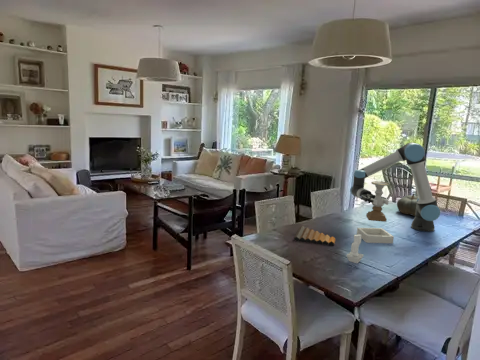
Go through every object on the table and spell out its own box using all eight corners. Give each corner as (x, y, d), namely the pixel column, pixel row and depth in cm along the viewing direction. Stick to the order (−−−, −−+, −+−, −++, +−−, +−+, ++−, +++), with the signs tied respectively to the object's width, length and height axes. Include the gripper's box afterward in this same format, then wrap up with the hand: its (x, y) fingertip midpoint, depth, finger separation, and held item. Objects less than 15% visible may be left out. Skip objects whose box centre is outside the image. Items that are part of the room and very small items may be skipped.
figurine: (344, 262, 190) (347, 235, 188) (351, 257, 197) (353, 231, 195) (358, 265, 186) (360, 238, 183) (364, 260, 193) (366, 234, 190)
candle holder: (386, 221, 222) (390, 184, 217) (368, 220, 224) (372, 183, 219) (383, 217, 232) (387, 181, 228) (366, 215, 234) (369, 180, 230)
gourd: (431, 210, 301) (431, 190, 296) (428, 221, 281) (428, 201, 276) (399, 208, 314) (399, 189, 310) (394, 218, 294) (394, 199, 290)
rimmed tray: (381, 234, 239) (382, 228, 238) (392, 243, 222) (393, 236, 221) (356, 234, 238) (357, 227, 237) (366, 242, 221) (367, 236, 221)
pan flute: (299, 229, 245) (293, 241, 222) (299, 225, 244) (293, 236, 221) (336, 234, 237) (334, 246, 214) (336, 229, 237) (334, 241, 213)
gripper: (377, 199, 245) (396, 208, 223) (350, 199, 242) (366, 208, 220) (378, 189, 244) (397, 196, 222) (351, 189, 241) (368, 196, 219)
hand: (382, 202), depth 221 cm, fingers closed on candle holder, 7 cm apart
